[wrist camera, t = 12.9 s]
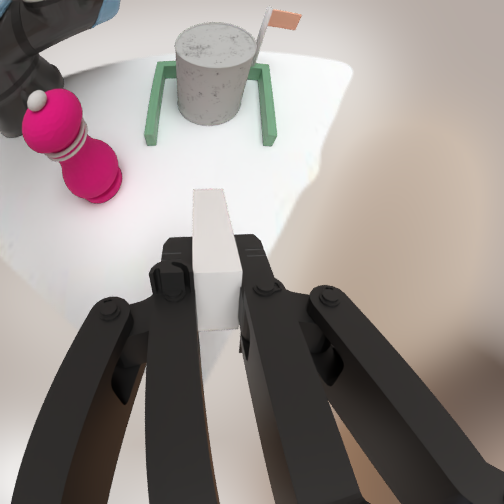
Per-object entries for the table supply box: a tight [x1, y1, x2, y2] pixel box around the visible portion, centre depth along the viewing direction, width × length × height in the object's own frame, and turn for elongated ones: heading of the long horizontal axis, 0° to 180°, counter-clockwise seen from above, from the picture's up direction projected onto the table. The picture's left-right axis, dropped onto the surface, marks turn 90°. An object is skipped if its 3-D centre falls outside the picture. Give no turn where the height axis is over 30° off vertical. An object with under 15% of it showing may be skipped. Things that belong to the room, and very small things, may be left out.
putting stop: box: [144, 7, 301, 146], centre depth 29 cm, size 19×14×15 cm
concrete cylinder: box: [175, 22, 257, 126], centre depth 31 cm, size 10×10×12 cm
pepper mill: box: [22, 89, 122, 203], centre depth 23 cm, size 7×7×20 cm
